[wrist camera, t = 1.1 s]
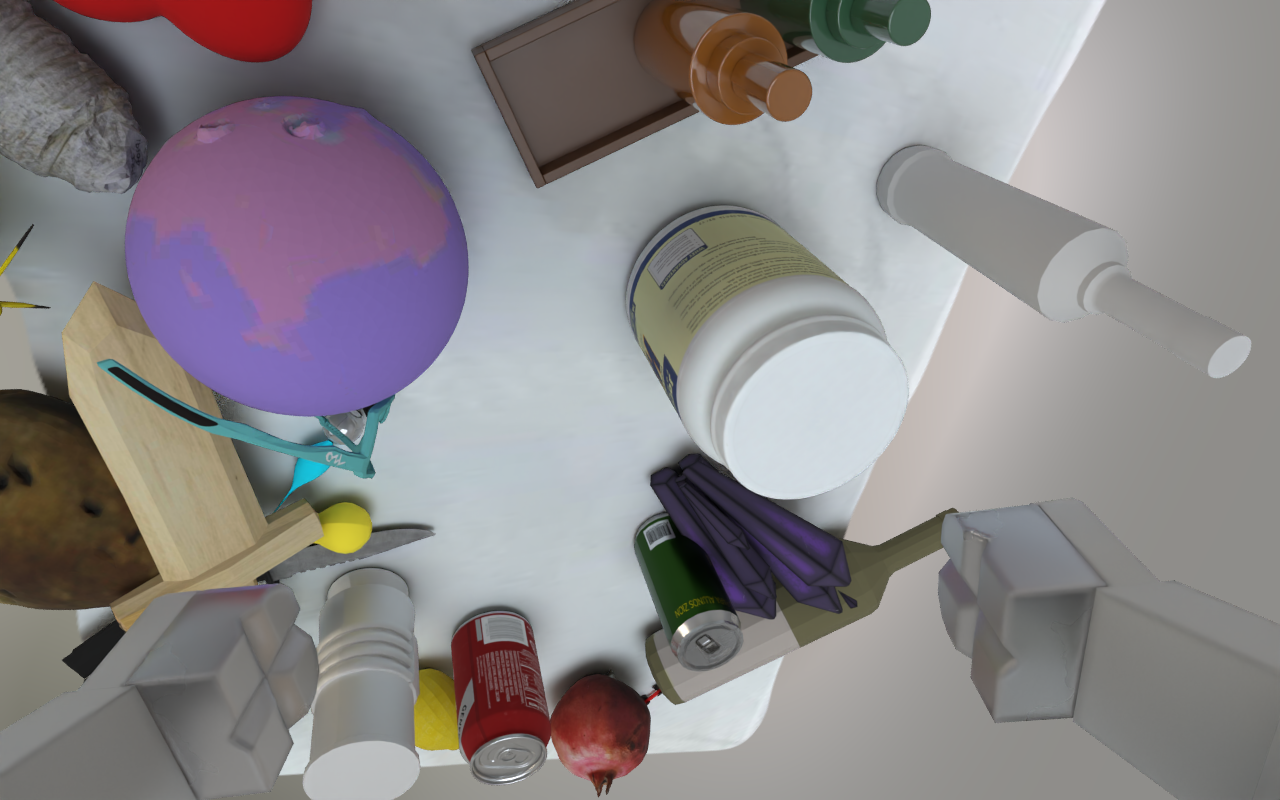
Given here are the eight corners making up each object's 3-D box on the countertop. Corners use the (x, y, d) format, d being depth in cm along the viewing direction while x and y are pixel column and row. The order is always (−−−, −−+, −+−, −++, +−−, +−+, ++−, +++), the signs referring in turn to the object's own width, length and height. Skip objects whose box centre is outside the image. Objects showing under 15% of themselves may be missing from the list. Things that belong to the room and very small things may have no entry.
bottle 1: (630, 623, 69) (933, 470, 68) (658, 657, 74) (942, 514, 73) (654, 692, 64) (982, 528, 63) (681, 724, 69) (988, 572, 68)
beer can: (619, 536, 63) (660, 652, 54) (672, 498, 63) (723, 609, 53) (654, 568, 66) (699, 683, 57) (705, 533, 66) (759, 643, 56)
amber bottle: (620, 13, 42) (718, 62, 30) (700, -25, 42) (831, 8, 30) (650, 98, 45) (751, 176, 32) (725, 62, 45) (855, 126, 32)
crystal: (609, 521, 59) (774, 680, 64) (718, 465, 52) (894, 647, 57) (638, 462, 65) (789, 612, 70) (741, 404, 58) (900, 575, 63)
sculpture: (141, 669, 48) (-281, 570, 40) (191, 562, 55) (-163, 459, 46) (205, 541, 42) (-281, 393, 34) (252, 438, 48) (-145, 294, 40)
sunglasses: (358, 349, 51) (331, 419, 51) (89, 270, 41) (58, 357, 41) (446, 421, 40) (411, 508, 41) (115, 338, 30) (74, 454, 31)
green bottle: (728, -38, 42) (847, -15, 31) (807, -76, 42) (955, -66, 31) (751, 50, 45) (868, 99, 34) (826, 15, 45) (967, 52, 34)
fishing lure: (348, 394, 51) (377, 419, 51) (199, 584, 54) (226, 607, 54) (329, 402, 48) (360, 428, 49) (173, 600, 52) (203, 624, 52)
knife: (429, 514, 55) (442, 565, 58) (428, 497, 57) (441, 548, 60) (133, 579, 51) (162, 630, 54) (140, 560, 53) (167, 610, 55)
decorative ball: (426, 50, 41) (441, 116, 29) (478, 306, 49) (507, 440, 37) (118, 87, 38) (-10, 175, 26) (229, 350, 47) (171, 511, 34)
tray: (532, 178, 46) (537, 189, 44) (470, 49, 42) (474, 55, 40) (852, 26, 46) (869, 31, 45) (826, -119, 42) (844, -120, 40)
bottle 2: (956, 160, 53) (1306, 323, 33) (912, 228, 55) (1217, 421, 35) (902, 129, 51) (1243, 283, 30) (859, 201, 53) (1151, 391, 32)
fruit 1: (418, 784, 61) (361, 703, 63) (465, 751, 66) (410, 677, 68) (453, 743, 59) (392, 661, 61) (498, 713, 64) (441, 638, 66)
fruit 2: (641, 648, 71) (673, 744, 63) (636, 713, 76) (665, 810, 68) (542, 665, 69) (562, 768, 61) (543, 731, 74) (562, 834, 66)
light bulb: (383, 516, 56) (373, 562, 54) (302, 519, 56) (288, 564, 54) (367, 492, 53) (356, 538, 51) (282, 494, 53) (267, 541, 51)
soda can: (474, 596, 63) (490, 724, 53) (546, 615, 66) (573, 739, 56) (436, 652, 65) (444, 785, 55) (507, 667, 68) (526, 795, 58)
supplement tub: (584, 298, 51) (654, 445, 37) (716, 158, 48) (845, 262, 35) (700, 392, 58) (797, 546, 44) (823, 274, 55) (965, 400, 41)
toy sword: (339, 600, 58) (213, 231, 40) (361, 625, 57) (240, 250, 39) (170, 707, 51) (-75, 316, 33) (190, 739, 50) (-58, 344, 32)
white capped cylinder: (424, 615, 62) (432, 790, 50) (334, 637, 61) (320, 822, 49) (405, 554, 58) (408, 727, 46) (308, 575, 57) (286, 759, 45)
